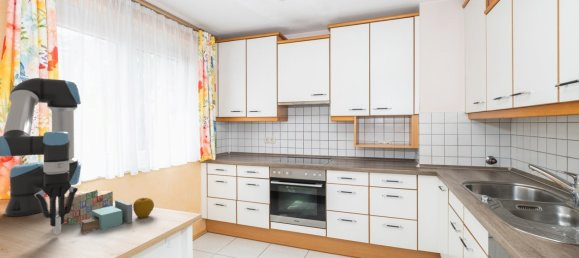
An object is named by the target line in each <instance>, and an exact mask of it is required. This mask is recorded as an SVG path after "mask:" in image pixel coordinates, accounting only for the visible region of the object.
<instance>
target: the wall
mask: <svg viewBox="0 0 579 258" xmlns="http://www.w3.org/2000/svg"><path fill="white" fill-rule="evenodd" d="M114 207H115V208H118V209H120V210H122V222H124V223H126V224H130V223H133V203H130V202H128V201H124V200H122V199H115V200H114Z"/></svg>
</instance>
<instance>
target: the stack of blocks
mask: <svg viewBox="0 0 579 258" xmlns="http://www.w3.org/2000/svg"><path fill="white" fill-rule="evenodd" d="M68 195H69V194H65V198H64V209H65V206H66V202H67V198H68ZM113 197H114V195H113V191H110V190H101V191H98V189H88V188H87V189H86V188H85V189H83V190H77V192H76V193H75V195H74V199H73V203H72V206H71V210H70V213H67V214H65V216H64V224H63V225H72V226H73V225H77V224H81V221H83V220H87V219H91V218H92V217H91V210H96V209H100V208H105V207H110V206H113V207H114V198H113Z"/></svg>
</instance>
